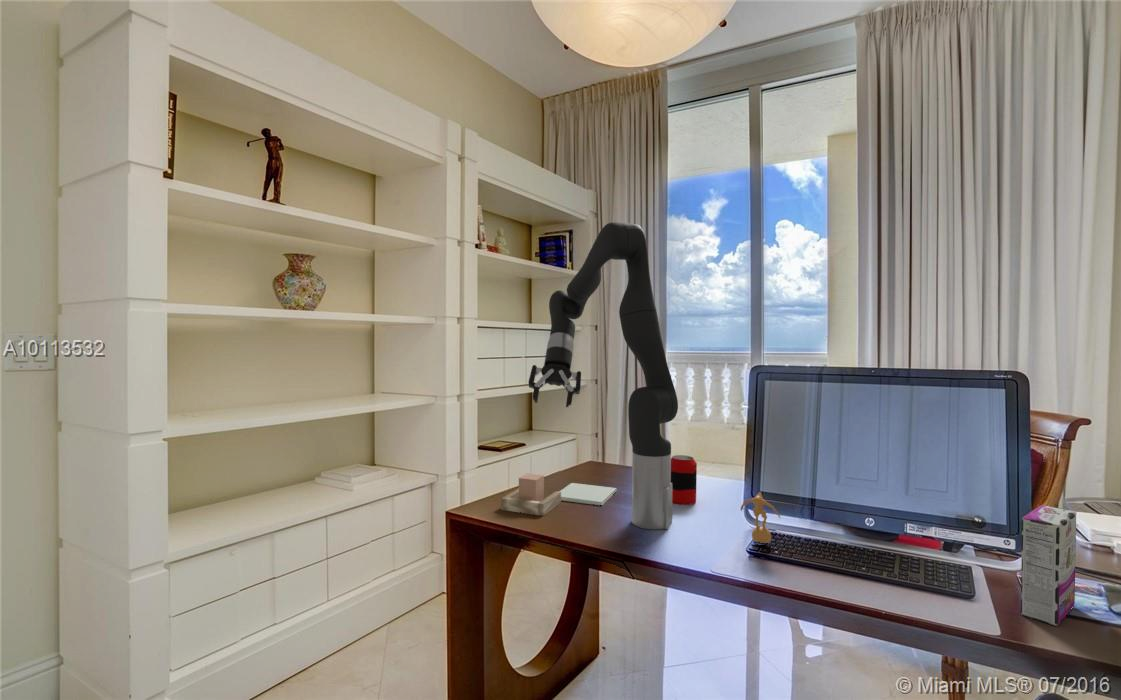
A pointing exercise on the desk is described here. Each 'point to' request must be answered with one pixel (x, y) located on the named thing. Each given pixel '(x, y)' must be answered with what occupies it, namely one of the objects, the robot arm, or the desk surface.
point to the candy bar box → (1048, 564)
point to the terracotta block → (531, 487)
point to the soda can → (683, 479)
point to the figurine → (759, 532)
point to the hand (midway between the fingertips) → (551, 403)
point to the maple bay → (530, 503)
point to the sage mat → (587, 493)
